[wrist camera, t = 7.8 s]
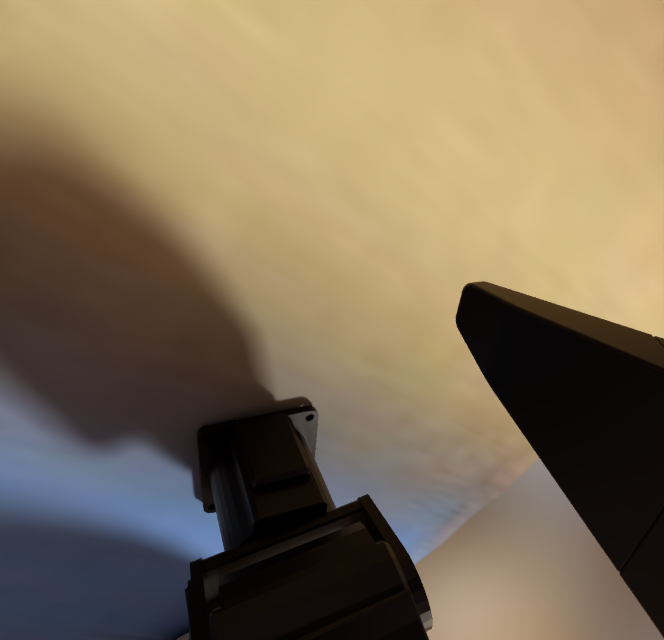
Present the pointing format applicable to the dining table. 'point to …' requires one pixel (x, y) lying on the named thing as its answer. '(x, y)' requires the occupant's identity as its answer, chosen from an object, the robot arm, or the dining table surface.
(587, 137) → the dining table surface
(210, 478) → the robot arm
